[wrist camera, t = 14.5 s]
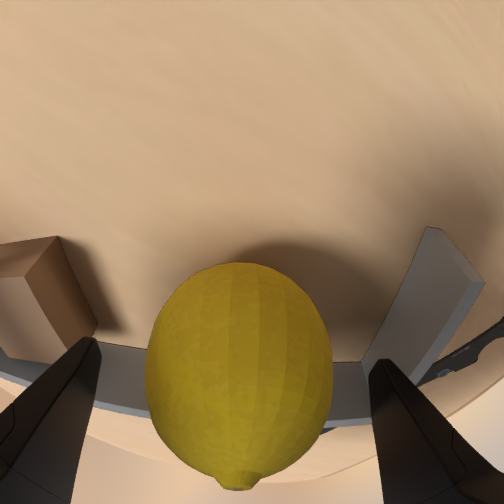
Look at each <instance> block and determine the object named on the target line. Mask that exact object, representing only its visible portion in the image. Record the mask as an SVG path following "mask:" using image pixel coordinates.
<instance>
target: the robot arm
mask: <svg viewBox="0 0 504 504" xmlns="http://www.w3.org/2000/svg"><path fill="white" fill-rule="evenodd" d="M101 362H102V354H101V351H100V348H99V345H98V342H97V340H96V339H95V338H93V337H88V336H84V337H82V338H81V339H80V340H79V341H77V342H76V343H75V344H74V345H73V346H72V347H71V348H70V349H69V350H67V351H66V352H65V353H64V354H63V355H62V356H61V357H60V358H59V359H58V360H56V361H55V362H54V363H53V364H52V365H51V366H50V367H49V368H48V369H47V370H46V371H45V372H44V373H42V374H41V375H40V376H39V377H38V378H37V379H36V380H35V381H34V382H33V383H32V384H31V385H30V386H29V387H28V388H27V389H25V390H24V391H23V392H22V393H21V394H20V395H19V396H18V397H17V398H16V399H15V400H14V401H13V403H11V404H10V405H9V406H8V407H7V408H6V409H5V410H4V411H3V412H2V413H0V504H70V503H71V498H72V493H73V488H74V482H75V478H76V473H77V468H78V463H79V459H80V455H81V450H82V446H83V442H84V438H85V434H86V430H87V426H88V423H89V419H90V415H91V412H92V408H93V404H94V400H95V395H96V389H97V383H98V377H99V372H100V367H101ZM368 384H369V396H370V410H371V420H372V426H373V432H374V438H375V444H376V450H377V456H378V463H379V470H380V477H381V484H382V492H383V501H384V504H504V473H502V472H500V471H498V470H497V469H496V468H494V467H493V466H492V465H491V464H490V463H489V462H488V461H487V460H486V459H484V457H482V456H481V455H480V454H479V453H478V452H477V451H476V450H475V449H474V448H473V447H472V446H471V445H470V444H469V443H468V442H467V441H466V440H465V439H464V438H463V437H462V436H461V435H460V434H459V433H458V432H457V431H456V429H455V428H453V426H452V425H451V424H450V423H449V422H448V421H447V420H446V418H445V417H444V416H443V415H442V414H441V413H440V412H439V411H438V410H437V409H436V407H435V406H434V405H433V404H432V403H431V402H430V401H429V400H428V399H427V398H426V397H425V395H424V394H423V393H422V392H421V391H420V390H419V389H418V388H417V387H416V386H415V385H414V384H413V382H412V381H411V380H410V379H409V378H408V377H407V376H406V375H405V374H404V373H403V372H402V371H401V370H400V369H399V367H398V366H397V365H396V364H395V363H394V362H393V361H392V360H391V359H389V358H383V359H378V360H377V361H376V363H375V364H374V366H373V368H372V369H371V371H370V372H369V375H368Z"/></svg>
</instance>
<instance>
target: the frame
mask: <svg viewBox="0 0 504 504" xmlns="http://www.w3.org/2000/svg"><path fill="white" fill-rule="evenodd" d="M485 283H486V282H485V281H484V279H483V278H482V277H481V276H480V274H479V273H478V272H477V271H476V269H475V268H474V267H473V266H472V265H471V263H470V262H469V261H468V260H467V258H466V257H465V256H464V255H463V254H462V253H461V251H460V250H459V249H458V248H457V247H456V246H455V244H454V243H453V242H452V241H451V240H450V239H449V238H448V237H447V236H446V234H445V233H444V232H443V231H442V230H441V229H436V228H430V227H426V229H425V232H424V234H423V237H422V239H421V242H420V244H419V246H418V249H417V251H416V254H415V256H414V258H413V261H412V263H411V265H410V267H409V270H408V272H407V274H406V276H405V279H404V281H403V283H402V285H401V287H400V289H399V291H398V293H397V296H396V298H395V300H394V302H393V304H392V306H391V308H390V310H389V312H388V314H387V316H386V318H385V320H384V321H383V323H382V325H381V327H380V329H379V331H378V333H377V335H376V336H375V338H374V340H373V342H372V344H371V346H370V347H369V349H368V351H367V353H366V354H365V356H364V358H363V360H362V361H361V362H354V363H333V394H332V401H331V407H330V411H329V414H328V417H327V421H326V423H325V425H324V427H323V428H330V427H344V426H355V425H365V424H372V420H371V410H370V396H369V384H368V375H369V372H370V371H371V369H372V368H373V366H374V364H375V363H376V361H377V360H378V359H383V358H389V359H391V360H392V361H393V362H394V363H395V364H396V365H397V366H398V367H399V369H400V370H401V371H402V372H403V373H404V374H405V375H406V376H407V377H408V378H409V379H410V380H411V381H412V382H413V384H414V385H415V386H416V384H417V383H418V382H419V381H420V379H421V378H422V377H423V376H424V374H425V373H426V372H427V371H428V369H429V368H430V367H431V365H432V364H433V363H434V361H435V360H436V359H437V357H438V356H439V355H440V353H441V352H442V350H443V349H444V348H445V346H446V345H447V343H448V342H449V341H450V339H451V338H452V336H453V335H454V333H455V332H456V330H457V329H458V327H459V326H460V324H461V323H462V321H463V320H464V318H465V316H466V315H467V313H468V312H469V310H470V308H471V307H472V305H473V303H474V302H475V300H476V298H477V297H478V295H479V293H480V292H481V290H482V288H483V286H484V284H485ZM98 345H99V348H100V351H101V354H102V362H101V367H100V372H99V377H98V383H97V389H96V395H95V400H94V404H93V407H96V408H100V409H104V410H109V411H113V412H118V413H123V414H128V415H133V416H138V417H144V418H150V419H151V416H150V412H149V408H148V405H147V400H146V393H145V378H144V377H145V360H146V353H147V350H145V349H138V348H132V347H125V346H119V345H114V344H108V343H102V342H98ZM51 365H52V364H48V363H41V362H34V361H27V360H21V359H15V358H10V357H8V356H7V354H6V353H5V352H4V350H3V349H2V348H1V346H0V377H1V378H4V379H6V380H9V381H11V382H14V383H17V384H19V385H22V386H25V387H29V386H30V385H31V384H32V383H33V382H34V381H35V380H36V379H37V378H38V377H39V376H40V375H41V374H42V373H44V372H45V371H46V370H47V369H48V368H49V367H50V366H51Z"/></svg>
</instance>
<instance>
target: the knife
mask: <svg viewBox="0 0 504 504" xmlns="http://www.w3.org/2000/svg"><path fill="white" fill-rule="evenodd" d="M501 337H504V317H503V318H502V319H501V321H500V322H498V323H497V324H495V325H494V326H492V327H491V328H490V329H488V330H487V331H485V332H484V333H482V334H481V335H479V336H478V337H476V338H475V339H473V340H472V341H470V342H469V343H467V344H465V345H464V346H462V347H461V348H459V349H457V350H456V351H454V352H452V353H451V354H449V355H447V356H446V357H444V358H442V359H441V360H439V361H437V362H435V363H434V364H432V365H431V367H430V368H429V369H428V371H427V372H426V373H425V374H424V376H423V377H422V378H421V379H420V381H419V382H418V383H417V384H416V387H419V386H421V385H423V384H425V383H427V382H430V381H432V380H434V379H436V378H438V377H443V376H445V375H447V374H448V373H449V372H451V371H455V372H456V371H458V370H460V369H463V368H465V367H467V366H469V365H471V364H473V363H475V362H476V361H477V360H478V355H479V353H480V352H481V350H482V349H483V348H484V347H485V346H486V345H488V344H489V343H490V342H492V341H493V340H495V339H497V338H501ZM473 361H474V362H473ZM335 428H337V427H330V428H323V429H322V431H321V433H320V435H321V434H324V433H326V432H328V431H330V430H333V429H335Z"/></svg>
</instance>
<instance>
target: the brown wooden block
mask: <svg viewBox="0 0 504 504" xmlns="http://www.w3.org/2000/svg"><path fill="white" fill-rule="evenodd" d="M97 325H98V322H97V320H96V318H95V316H94V314H93V312H92V311H91V309H90V307H89V305H88V303H87V301H86V299H85V297H84V295H83V293H82V291H81V288H80V286H79V284H78V282H77V280H76V278H75V276H74V273H73V271H72V269H71V267H70V264H69V262H68V260H67V258H66V255H65V253H64V250H63V248H62V246H61V243H60V241H59V238H58V236H51V237H45V238H38V239H32V240H25V241H19V242H13V243H7V244H1V245H0V346H1V348H2V349H3V350H4V352H5V353H6V354H7V356H8V357H10V358H15V359H21V360H27V361H34V362H41V363H48V364H53V363H54V362H55V361H56V360H58V359H59V358H60V357H61V356H62V355H63V354H64V353H65V352H66V351H67V350H69V349H70V348H71V347H72V346H73V345H74V344H75V343H76V342H77V341H79V340H80V339H81V338H82V337H84V336H88V337H92V336H93V334H94V331H95V329H96V327H97Z"/></svg>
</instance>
